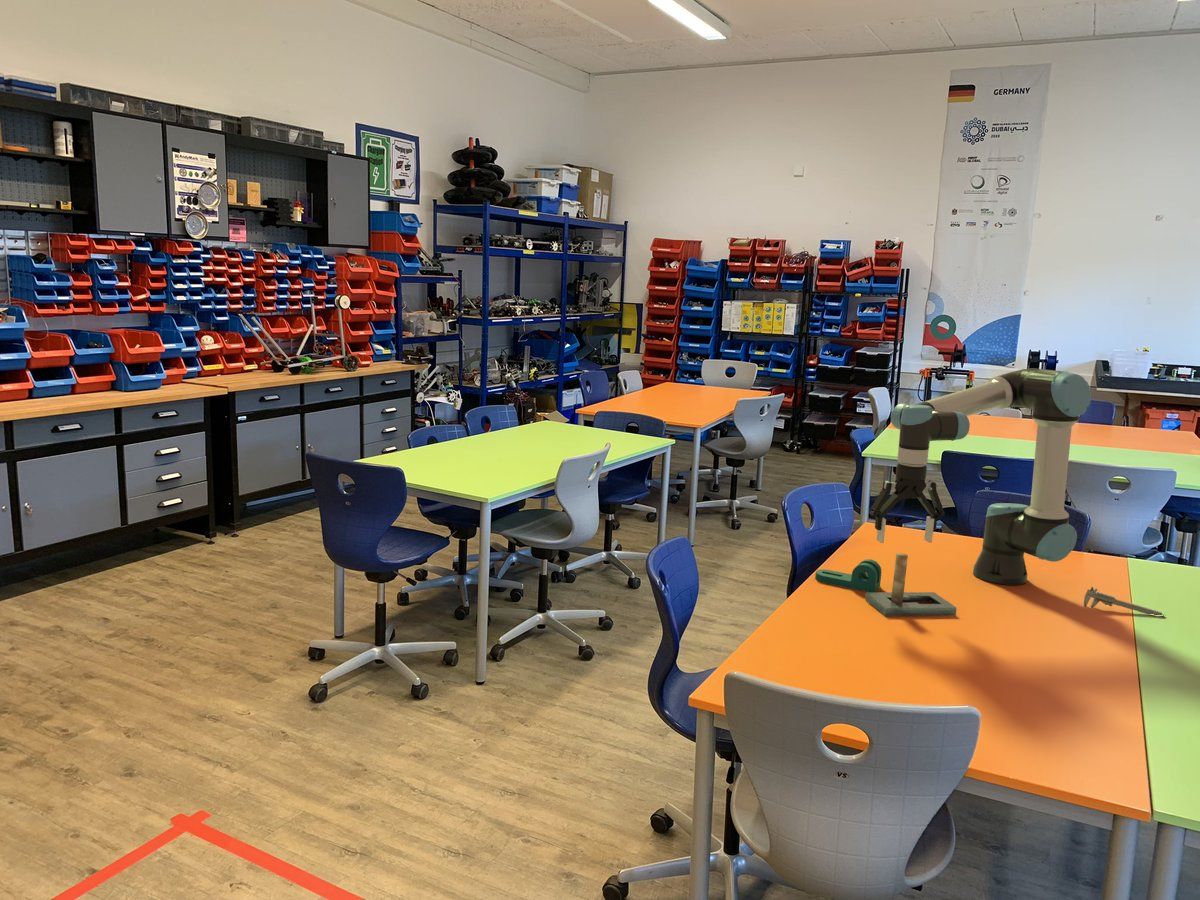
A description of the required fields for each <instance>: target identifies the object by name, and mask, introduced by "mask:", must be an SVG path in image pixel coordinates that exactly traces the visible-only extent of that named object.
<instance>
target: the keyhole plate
mask: <svg viewBox="0 0 1200 900" xmlns="http://www.w3.org/2000/svg"><path fill="white" fill-rule="evenodd" d="M891 596H892V591H890V592H877V591H876V592H866V593H865V601H866V602H867V603H868V602H869V603H868V604H870V605H871V607H873V606H874V607H873V608H874V609H876V610H877V612H880V613H881V614H882V615H883V616H884V617H908V616H909V617H913V616H914V617H917V616H918V617H919V616H920V617H922V616H923V617H924V616H925V617H929V616H930V617H931V616H932V617H934V616H935V617H936V616H939V617H940V616H944V617H946V616H949V617H950V616H956V615H957V607H956V606H955V605H953V604H952V602H951V603H950V602H949V601H948V600H946V599H945V598H943V597H941V595H939V594H937V593H936V592H933V591H931V592H930V591H925V592H924V591H921V592H920V591H919V592H918V591H913V592H912V591H911V592H910V591H909V592H908V591H904V595H903V603H893V602H892V601H891ZM919 602H920V603H919ZM922 602H923V603H922ZM924 602H925V603H926V604H925V603H924ZM921 603H922V604H921Z"/></svg>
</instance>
